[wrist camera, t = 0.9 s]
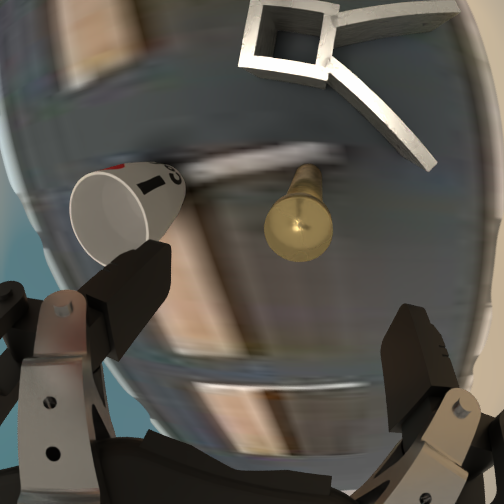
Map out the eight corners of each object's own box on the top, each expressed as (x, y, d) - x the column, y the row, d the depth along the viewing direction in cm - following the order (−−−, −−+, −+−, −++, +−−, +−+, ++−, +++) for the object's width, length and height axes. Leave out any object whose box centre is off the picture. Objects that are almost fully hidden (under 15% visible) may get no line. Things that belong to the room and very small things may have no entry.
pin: (293, 154, 25) (270, 190, 14) (331, 163, 25) (340, 207, 14) (286, 190, 27) (258, 252, 16) (322, 198, 27) (322, 268, 15)
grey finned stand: (275, -14, 18) (260, -48, 12) (430, 24, 16) (461, 3, 10) (251, 119, 25) (229, 122, 19) (407, 158, 23) (434, 174, 17)
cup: (209, 165, 27) (158, 193, 19) (188, 236, 31) (140, 285, 23) (140, 140, 28) (73, 158, 19) (126, 208, 32) (68, 245, 23)
